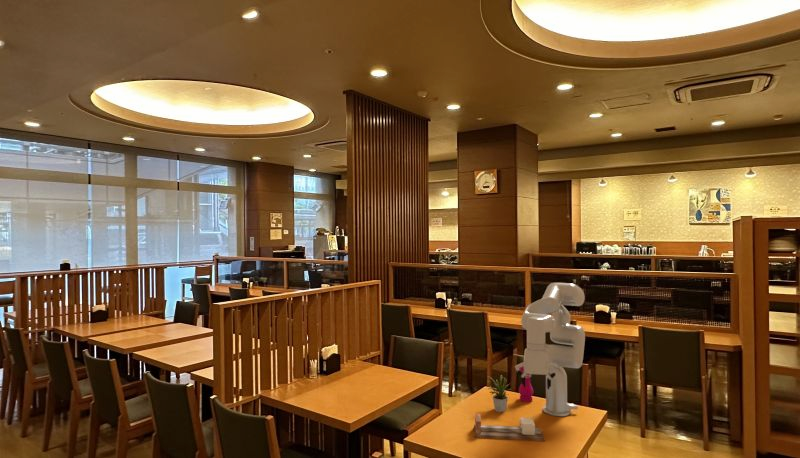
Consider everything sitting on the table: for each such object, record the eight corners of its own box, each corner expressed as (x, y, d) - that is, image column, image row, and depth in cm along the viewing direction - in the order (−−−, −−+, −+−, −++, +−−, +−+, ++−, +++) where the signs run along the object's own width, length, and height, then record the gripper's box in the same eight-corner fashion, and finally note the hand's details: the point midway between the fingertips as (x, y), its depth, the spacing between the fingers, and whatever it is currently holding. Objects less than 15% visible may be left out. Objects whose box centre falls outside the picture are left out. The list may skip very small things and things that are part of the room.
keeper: (532, 428, 194) (531, 417, 194) (534, 435, 187) (534, 424, 187) (520, 427, 194) (520, 417, 194) (522, 434, 187) (522, 424, 187)
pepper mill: (534, 403, 227) (533, 363, 228) (519, 402, 229) (519, 362, 229) (532, 398, 234) (532, 359, 235) (518, 397, 236) (518, 358, 236)
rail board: (539, 430, 195) (539, 416, 195) (544, 441, 185) (544, 425, 185) (474, 427, 198) (473, 413, 198) (475, 437, 188) (475, 422, 188)
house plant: (484, 402, 228) (484, 370, 228) (512, 404, 225) (512, 371, 225) (484, 413, 214) (484, 378, 214) (514, 415, 211) (514, 380, 211)
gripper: (557, 345, 192) (557, 386, 192) (514, 343, 196) (515, 382, 196) (558, 350, 185) (558, 392, 184) (514, 347, 189) (515, 388, 189)
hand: (536, 387), depth 190 cm, fingers open, 9 cm apart
